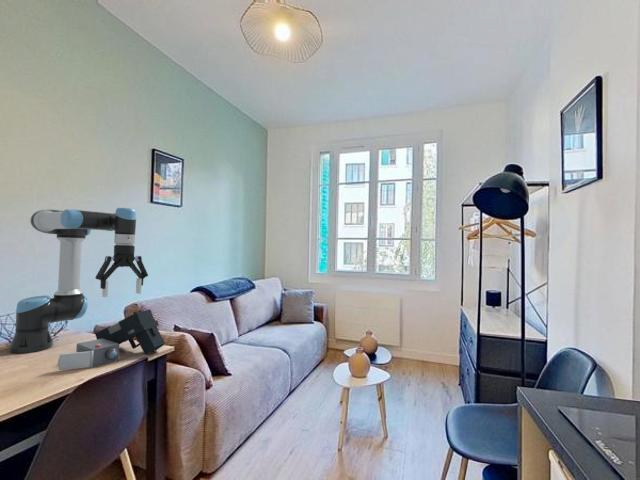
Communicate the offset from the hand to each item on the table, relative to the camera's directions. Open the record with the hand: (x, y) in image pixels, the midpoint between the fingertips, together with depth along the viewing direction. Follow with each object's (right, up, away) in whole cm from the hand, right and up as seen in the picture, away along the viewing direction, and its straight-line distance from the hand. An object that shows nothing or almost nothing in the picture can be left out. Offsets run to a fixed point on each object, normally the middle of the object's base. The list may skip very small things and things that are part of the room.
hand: (122, 295), depth 140 cm
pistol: (-5, -29, +14) cm, 32 cm away
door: (-12, -27, -10) cm, 31 cm away
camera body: (-10, -28, 0) cm, 29 cm away
